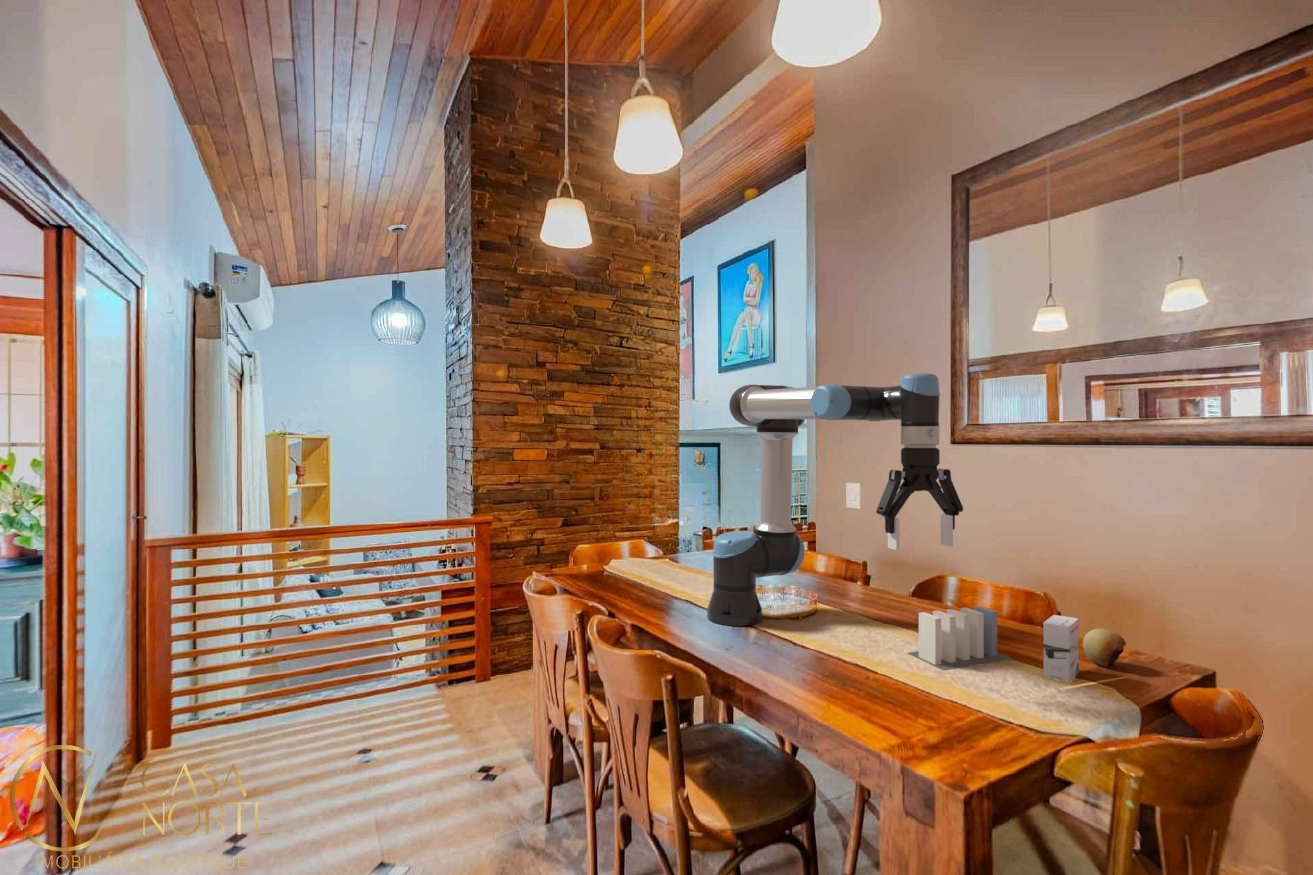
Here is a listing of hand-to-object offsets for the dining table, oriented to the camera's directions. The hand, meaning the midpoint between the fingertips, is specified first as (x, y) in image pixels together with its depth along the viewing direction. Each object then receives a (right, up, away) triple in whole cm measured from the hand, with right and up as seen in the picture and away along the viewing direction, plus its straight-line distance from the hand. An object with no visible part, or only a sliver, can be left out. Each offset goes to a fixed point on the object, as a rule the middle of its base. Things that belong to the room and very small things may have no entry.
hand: (920, 547), depth 129 cm
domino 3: (+12, -26, +9) cm, 31 cm away
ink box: (+29, -27, -1) cm, 40 cm away
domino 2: (+9, -26, +8) cm, 29 cm away
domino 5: (+20, -26, +12) cm, 35 cm away
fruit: (+42, -27, +4) cm, 50 cm away
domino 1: (+5, -26, +7) cm, 28 cm away
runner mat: (+13, -27, +9) cm, 31 cm away
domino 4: (+16, -26, +10) cm, 33 cm away
